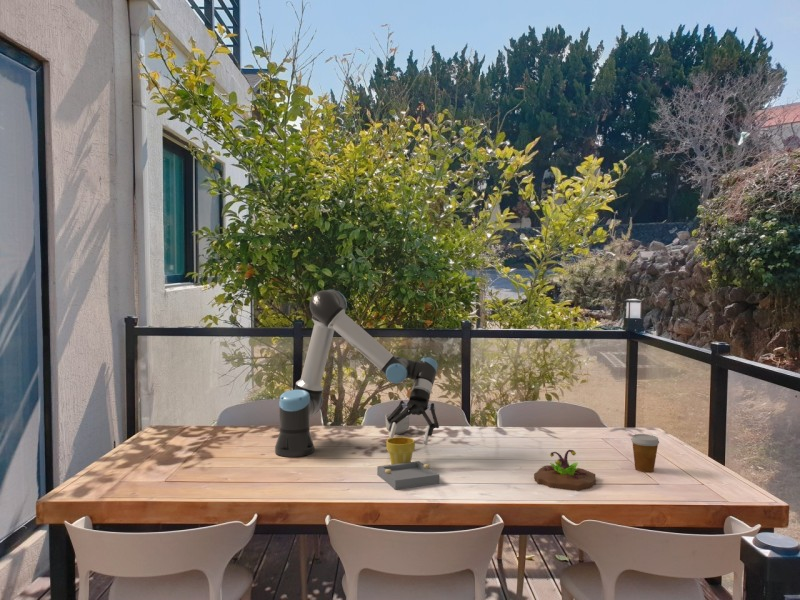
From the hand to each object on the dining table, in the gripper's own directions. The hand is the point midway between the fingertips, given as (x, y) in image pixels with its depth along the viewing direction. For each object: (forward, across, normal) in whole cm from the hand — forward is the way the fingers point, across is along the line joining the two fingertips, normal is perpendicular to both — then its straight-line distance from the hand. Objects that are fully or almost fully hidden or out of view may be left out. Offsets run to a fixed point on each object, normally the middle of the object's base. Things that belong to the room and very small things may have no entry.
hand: (407, 441), depth 225 cm
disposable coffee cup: (-12, -82, -26) cm, 87 cm away
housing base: (+17, -6, +5) cm, 18 cm away
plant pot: (+9, +1, -4) cm, 10 cm away
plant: (+4, -56, -10) cm, 57 cm away
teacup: (-24, +21, -37) cm, 49 cm away
